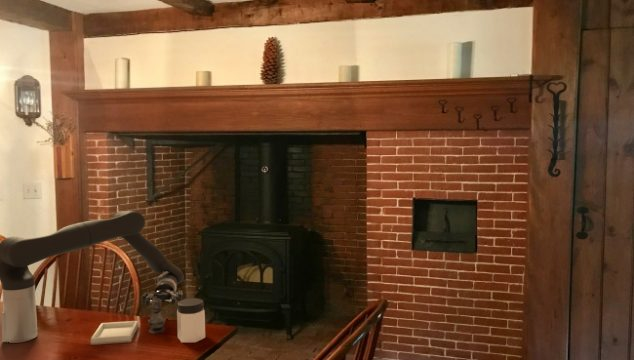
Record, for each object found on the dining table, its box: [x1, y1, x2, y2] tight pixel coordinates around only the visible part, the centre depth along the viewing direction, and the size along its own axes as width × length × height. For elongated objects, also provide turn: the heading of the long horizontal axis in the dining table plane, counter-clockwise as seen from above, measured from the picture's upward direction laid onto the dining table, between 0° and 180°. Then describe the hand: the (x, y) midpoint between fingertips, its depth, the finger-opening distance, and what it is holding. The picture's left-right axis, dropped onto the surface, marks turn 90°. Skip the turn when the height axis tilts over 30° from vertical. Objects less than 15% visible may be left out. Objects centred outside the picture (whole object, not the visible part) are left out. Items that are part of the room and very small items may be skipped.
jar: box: [176, 298, 206, 343], centre depth 170 cm, size 9×8×12 cm
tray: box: [90, 320, 139, 346], centre depth 173 cm, size 12×14×2 cm
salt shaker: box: [147, 296, 167, 334], centre depth 177 cm, size 6×6×12 cm
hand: (160, 302), depth 187 cm, fingers open, 8 cm apart
